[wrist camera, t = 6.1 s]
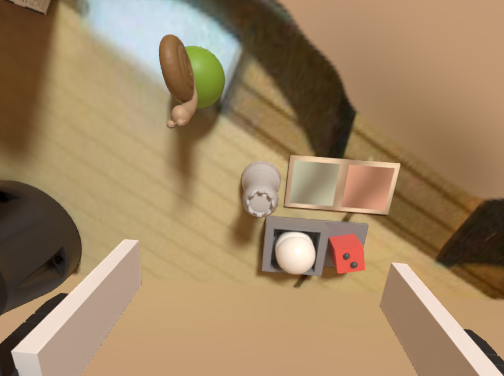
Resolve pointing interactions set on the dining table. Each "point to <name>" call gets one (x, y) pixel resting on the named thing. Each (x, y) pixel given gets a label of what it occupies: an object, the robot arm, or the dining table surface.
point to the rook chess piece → (260, 188)
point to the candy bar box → (33, 5)
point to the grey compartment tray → (319, 243)
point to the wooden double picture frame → (340, 184)
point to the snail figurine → (189, 77)
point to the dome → (294, 251)
